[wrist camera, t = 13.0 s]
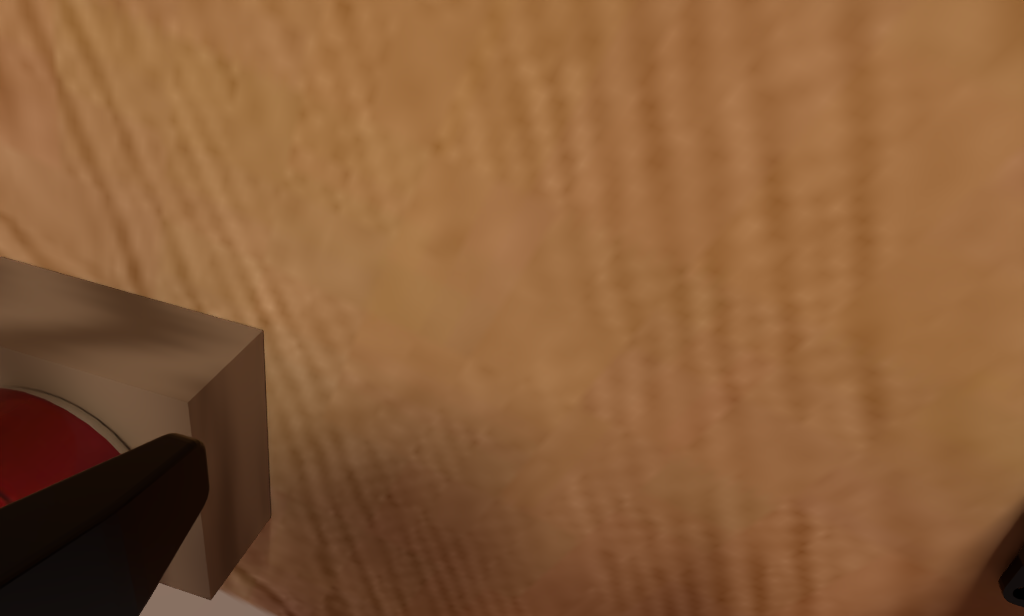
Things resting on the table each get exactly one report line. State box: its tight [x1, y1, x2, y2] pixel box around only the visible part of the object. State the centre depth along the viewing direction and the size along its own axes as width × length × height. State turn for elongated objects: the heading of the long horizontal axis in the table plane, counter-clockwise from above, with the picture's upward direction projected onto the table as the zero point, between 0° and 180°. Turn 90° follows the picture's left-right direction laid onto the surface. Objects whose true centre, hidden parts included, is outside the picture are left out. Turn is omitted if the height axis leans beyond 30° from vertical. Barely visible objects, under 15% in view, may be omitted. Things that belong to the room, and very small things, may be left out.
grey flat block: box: [0, 257, 271, 600], centre depth 25 cm, size 10×9×4 cm
